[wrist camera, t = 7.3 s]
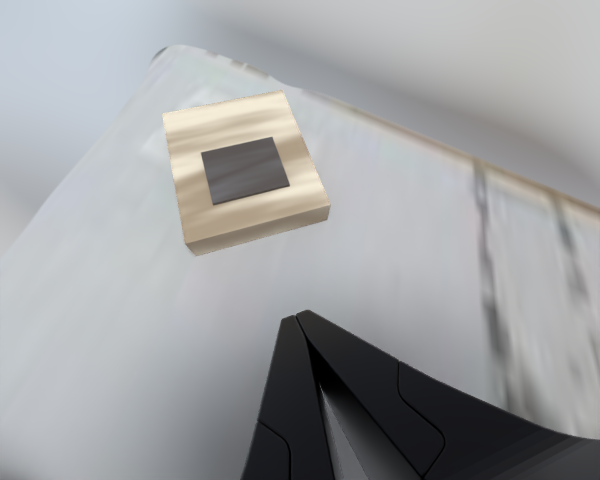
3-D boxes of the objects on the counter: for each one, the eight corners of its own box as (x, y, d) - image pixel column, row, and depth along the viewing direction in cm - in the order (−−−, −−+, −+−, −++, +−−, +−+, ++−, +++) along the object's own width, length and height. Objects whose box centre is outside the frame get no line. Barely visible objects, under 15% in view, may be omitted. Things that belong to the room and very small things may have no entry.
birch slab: (331, 202, 21) (282, 86, 26) (183, 242, 20) (160, 110, 25) (326, 222, 24) (283, 115, 29) (197, 258, 23) (174, 138, 28)
